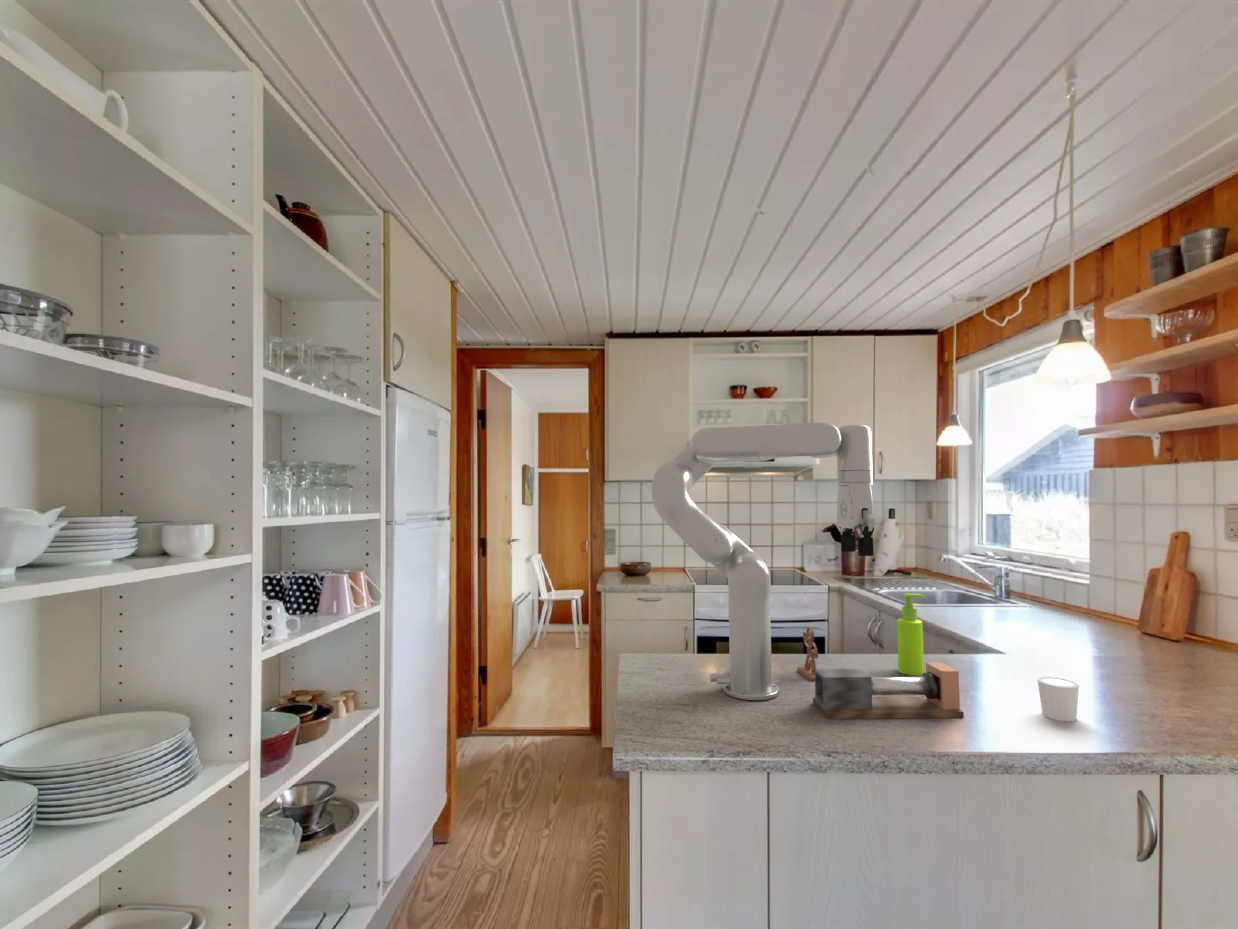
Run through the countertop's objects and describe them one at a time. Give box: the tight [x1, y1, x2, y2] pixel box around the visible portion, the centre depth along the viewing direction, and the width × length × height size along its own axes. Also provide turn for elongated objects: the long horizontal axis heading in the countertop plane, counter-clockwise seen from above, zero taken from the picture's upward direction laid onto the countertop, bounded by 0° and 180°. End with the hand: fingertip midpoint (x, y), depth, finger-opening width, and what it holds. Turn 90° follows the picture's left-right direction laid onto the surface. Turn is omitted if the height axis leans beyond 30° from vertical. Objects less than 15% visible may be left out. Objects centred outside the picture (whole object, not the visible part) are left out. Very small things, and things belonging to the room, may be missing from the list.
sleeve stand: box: [812, 668, 965, 720], centre depth 125 cm, size 28×9×8 cm, turn 90°
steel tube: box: [871, 672, 940, 699], centre depth 125 cm, size 21×5×5 cm, turn 90°
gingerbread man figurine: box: [797, 627, 819, 682], centre depth 149 cm, size 9×4×12 cm, turn 4°
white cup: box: [1037, 676, 1080, 722], centre depth 121 cm, size 7×7×7 cm
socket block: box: [925, 661, 961, 710], centre depth 125 cm, size 4×6×8 cm, turn 0°
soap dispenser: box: [896, 592, 927, 677], centre depth 151 cm, size 6×7×20 cm
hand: (856, 553), depth 134 cm, fingers open, 9 cm apart
